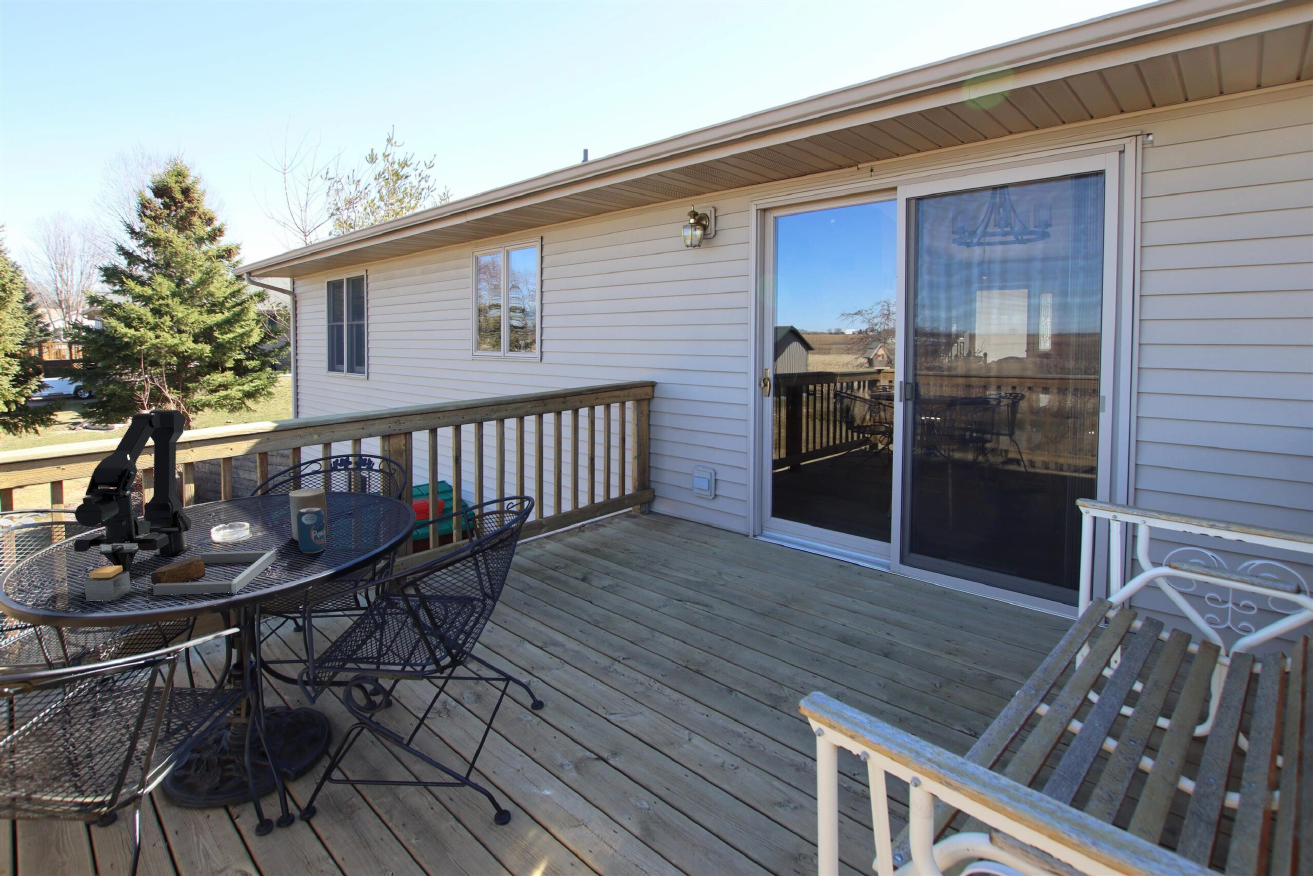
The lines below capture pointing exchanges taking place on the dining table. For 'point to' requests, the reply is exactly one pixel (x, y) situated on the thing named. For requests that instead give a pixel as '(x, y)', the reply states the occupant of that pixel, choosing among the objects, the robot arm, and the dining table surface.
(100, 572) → the button
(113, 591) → the box
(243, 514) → the dining table surface
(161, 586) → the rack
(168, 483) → the robot arm
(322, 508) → the pillar candle
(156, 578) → the brown wedge block
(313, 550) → the soda can
